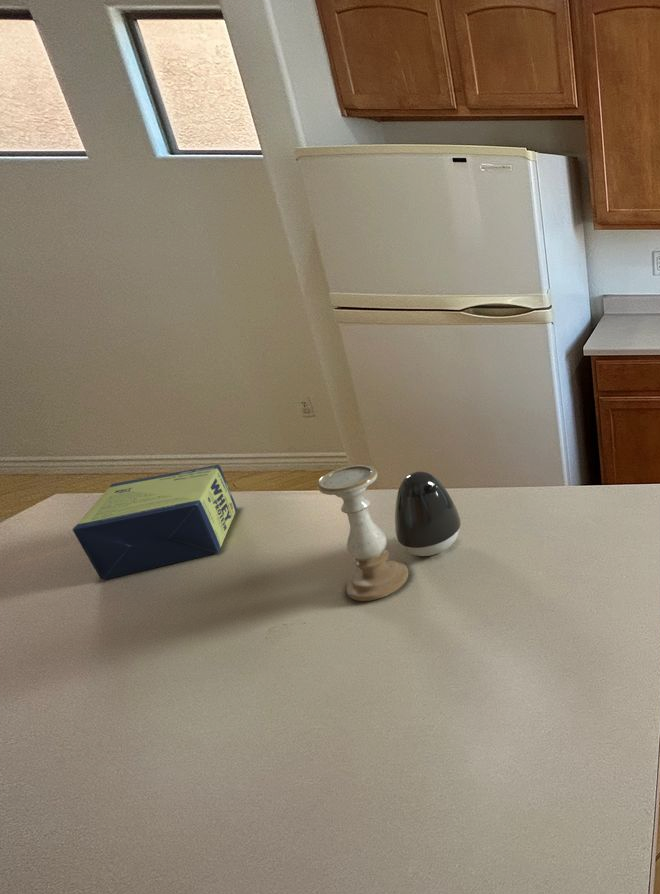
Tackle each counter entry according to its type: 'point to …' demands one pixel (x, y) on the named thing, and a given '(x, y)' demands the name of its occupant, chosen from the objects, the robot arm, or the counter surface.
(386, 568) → the candle holder
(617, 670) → the counter surface
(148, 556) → the protein box
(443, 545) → the dark grey egg shape
